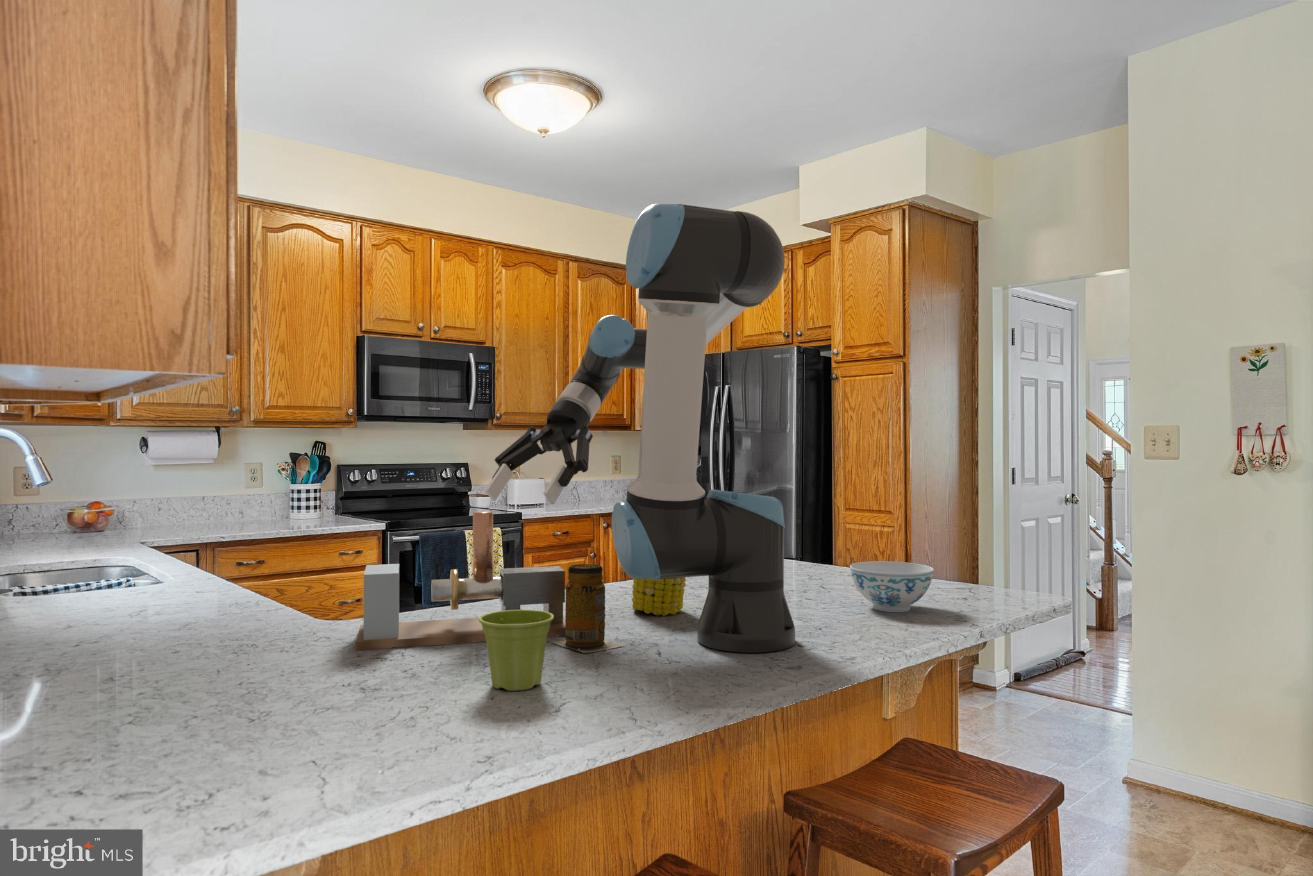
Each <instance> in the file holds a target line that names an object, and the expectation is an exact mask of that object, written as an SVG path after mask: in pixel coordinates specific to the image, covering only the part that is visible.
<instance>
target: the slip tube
mask: <svg viewBox="0 0 1313 876" xmlns="http://www.w3.org/2000/svg"><path fill="white" fill-rule="evenodd" d="M430 586H431V589H430V590H431V593H430V594H431V602H447V601H450V602H449V603H450V610H451V611H455V610H459V604H460V603H459V602H460V601H466V600H468V601H469V600H483V599H484V600H486V599H487V600H488V599H500V598H503V577H500V576H494V512H493V511H488V510H487V511H473V512H472V577H465V578H460V577H459V570H458V568H456V569H455V568H454V569H450V575H449V578H446V579H445V578H444V579H443V578H442V579H441V578H440V579H431V585H430Z"/></svg>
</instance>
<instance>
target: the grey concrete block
mask: <svg viewBox="0 0 1313 876" xmlns="http://www.w3.org/2000/svg"><path fill="white" fill-rule="evenodd" d="M499 577H503V598H499V601H500V603H501V611H506V610H521V606H526V605H528V606H529V605H543V606H542V607H543V610H542V611H545V612H549V613H551V614H553V615H554V619H553V620H552V621H551V622H550V624H560V623H563V618H564V604H565V603H566V570H565V569H563V568H562V567H561V566H560V565H557V566H556V565H555V566H552V565H551V566H535V567H532V566H531V567H507V568H499Z"/></svg>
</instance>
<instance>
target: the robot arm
mask: <svg viewBox="0 0 1313 876" xmlns="http://www.w3.org/2000/svg"><path fill="white" fill-rule="evenodd" d="M625 258H626V259H625V271H626V274H625V275H626V281H627V282H628V285H630V286H631V287H633V289H637V290H638V295H637V296H638V297H637V301H638V303H639V304H641V306H642V308H644V310H645V311H646V313H647V322H646V325H647V326H646V328H639V327H638V328H636V327H634V326H633V325H632V323H631V322H630V321H629V320H628V319H627V318H623V317H620V315H615V314H610V315H605V316H603V317H601V318H600V319H599V320H598V321H597V322H596V324H595V326H594V328H593V329H592V331H591V333H590V335H589V338H588V342H587V345H586V348H585V352H584V354H583V356H582V358H581V360H580V363H579V366H578V368H577V370H576V372H575V373H574V375H573V376H572V378H571V379H570V382H569V383H568V384H567V385H566V387H564V390H563V391H561V394H560V395H559V396H558V398H557V400H556V402H555V403H554V404H553V406H552V408H551V409H550V411H549V412H548V414H547V416H546V424H545V426H544V427H542V428H541V429H538V428H536V427H535V426H534V425H531V426H530V427H529V428H528V429H527V430H526V432H525V433H524V434H523V435H521V436H520V437H519V438H518V439H517V440H516V441H514V442H513V443H512V444H510V446H508V447H507V448H506V449H505V450H504V451H502V452H501V453H500V454H499V455H497V456H496V457H495V458H494V462H495V463H496V464H497V466H498V468H497V469H496V471H495V473H494V474H493V475H492V477H491V478H492V479H491V480H490V482H489V484H488V485H486V487H485V489H484V492H485V493H486V495H487V496H488V497H489V499H491V501H493V502H495V501H497V499H498V498H499V496H500V494H501V493H502V492H503V490H504V488H506V486H507V484H508V483H509V481H510V480H511V479H512V477H513V475H514V473H513V471H514V470H516V469H517V468H520V466H522V465H523V464H526V463H527V462H528V461H530V460H531V459H533V458H534V457H536V456H538V455H543V454H545V453H547V452H553V451H554V452H562V455H563V458H564V461H563V462H564V464H561V465H559V468H558V469H557V470H556V472H555V474H554V475H553V477H552V478H551V480H550V481H549V483H548V485H547V486H546V488H545V490H544V491H543V493H542V494H543V495H544V496H545V498H546V499H547V500H548V502H549V503H550V505H554V504H555V503H556V502H557V500H558V498H559V497H560V495H561V493H562V492H563V490H564V488H566V487H568V486H569V484H570V482H571V481H572V479H573V477H574V476H575V475H577V474H578V473H579V472H582V473H586V472H587V471H588V470H589V459H590V444H591V442H592V439H593V438H594V437H593V434H592V432H591V431H590V428H589V426H590V423H591V422H592V420H593V419H594V417H595V416H596V414H597V413H598V411H599V409H600V408H601V406H602V404H603V402H604V401H605V399H606V398H607V396H608V395H609V393H610V391H611V390H612V388H613V387H614V385H616V383H617V382H618V380H619V378H620V376H621V373H622V372H623V369H638V370H640V369H641V370H644V375H643V388H642V389H643V391H642V406H641V420H640V421H641V423H640V437H639V438H640V440H639V457H638V472H637V473H638V475H637V476H636V478H635V479H634V480H632V481H631V482H630V483H629V484H628V485H627V487H626V500H625V499H621V500H619V501H617V502H616V503H614V505H613V510H612V512H611V532H612V540H613V544H614V548H615V552H616V556H617V560H618V563H619V564H620V567H621V568H622V570H623V571H624V573H626V575H627V576H628V577H629V578H631V579H633V580H634V579H654V580H660V579H667V578H682V577H685V578H692V577H693V578H694V577H695V578H696V577H707V576H708V591H707V594H706V598H705V600H704V604H703V607H702V610H701V614H700V616H699V620H698V623H697V627H696V628H697V629H696V630H697V632H696V633H697V635H696V639H697V642H698V643H699V644H700V645H702V646H705V647H707V648H710V649H713V650H719V651H724V652H733V653H734V652H735V653H747V654H748V653H755V654H756V653H770V652H777V651H782V650H786V649H789V648H791V647H793V646H794V645H795V644H796V626H795V623H794V620H793V617H792V614H791V610H790V608H789V604H788V601H787V597H786V595H785V591H784V590H785V589H784V588H785V587H784V586H785V583H784V580H785V567H784V566H785V564H784V563H785V528H786V524H785V517H784V516H785V515H784V507H783V504H782V502H781V500H780V499H778V498H776V497H775V496H768V495H761V494H753V493H752V494H751V493H745V492H736V491H735V492H734V491H729V490H728V491H727V490H721V489H710V490H709V491H708V493H707V496H706V491H705V489H704V488H703V487H702V486H701V485H700V484H699V482H698V480H697V469H698V456H699V444H700V443H699V441H700V427H701V414H702V403H703V402H702V401H703V386H704V385H703V384H704V375H705V374H704V371H705V359H706V358H705V357H706V347H707V344H709V343H710V342H711V341H712V340H713V339H714V338H715V337H716V336H718V335H719V334H720V333H722V331H723V330H724V329H726V327H727V326H729V324H731V323H732V322H733V321H735V319H737V317H739V315H741V314H742V313H743V312H744V311H745V310H746V309H748V308H754V307H757V306H760V305H761V304H762V303H764V302H765V300H767V299H768V298H769V297H770V296H771V295H772V294H773V293H774V291H775V290H776V289H777V288H778V286H779V284H780V282H781V280H782V278H783V274H784V271H785V265H786V262H785V261H786V260H785V259H786V258H785V251H784V247H783V244H782V240H781V239H780V237H779V236H778V234H777V232H776V231H775V229H774V228H773V227H772V225H770V224H769V222H768V221H766V220H764V219H763V218H761V217H760V216H758V215H756V214H753V213H751V212H747V211H739V210H736V211H734V210H728V209H727V210H726V209H720V208H711V207H706V206H697V205H691V204H690V205H689V204H683V203H654V204H653V203H652V204H651V205H648V206H647V207H646V208H645V209H644V210H643V211H642V212H641V213H640V215H639V216H638V218H637V220H636V222H635V224H634V225H633V229H632V231H631V234H630V237H629V242H628V246H627V250H626V257H625ZM539 442H540V445H539V444H538V443H539ZM574 442H576V453H575V456H574V450H573V446H572V444H573V443H574ZM706 497H707V498H706Z"/></svg>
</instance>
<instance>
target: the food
mask: <svg viewBox="0 0 1313 876" xmlns="http://www.w3.org/2000/svg"><path fill="white" fill-rule="evenodd" d="M632 581H633V584H632V591H631V592H632V595H633V596H632V598H631V602H632V609H633V611H642V612H644V613H645V614H653V615H655V616H656V617H657V616H663V617H665V616H667V615H674V616H675V615H677V613H680V612H681V611H682V610H683V607H684V606H683V605H684V604H683V603H684V593H685V587H686V585H687V584H686V581H687V579H686V577H682V578H667V579H660V580H654V579H634V578H633V579H632Z"/></svg>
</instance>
